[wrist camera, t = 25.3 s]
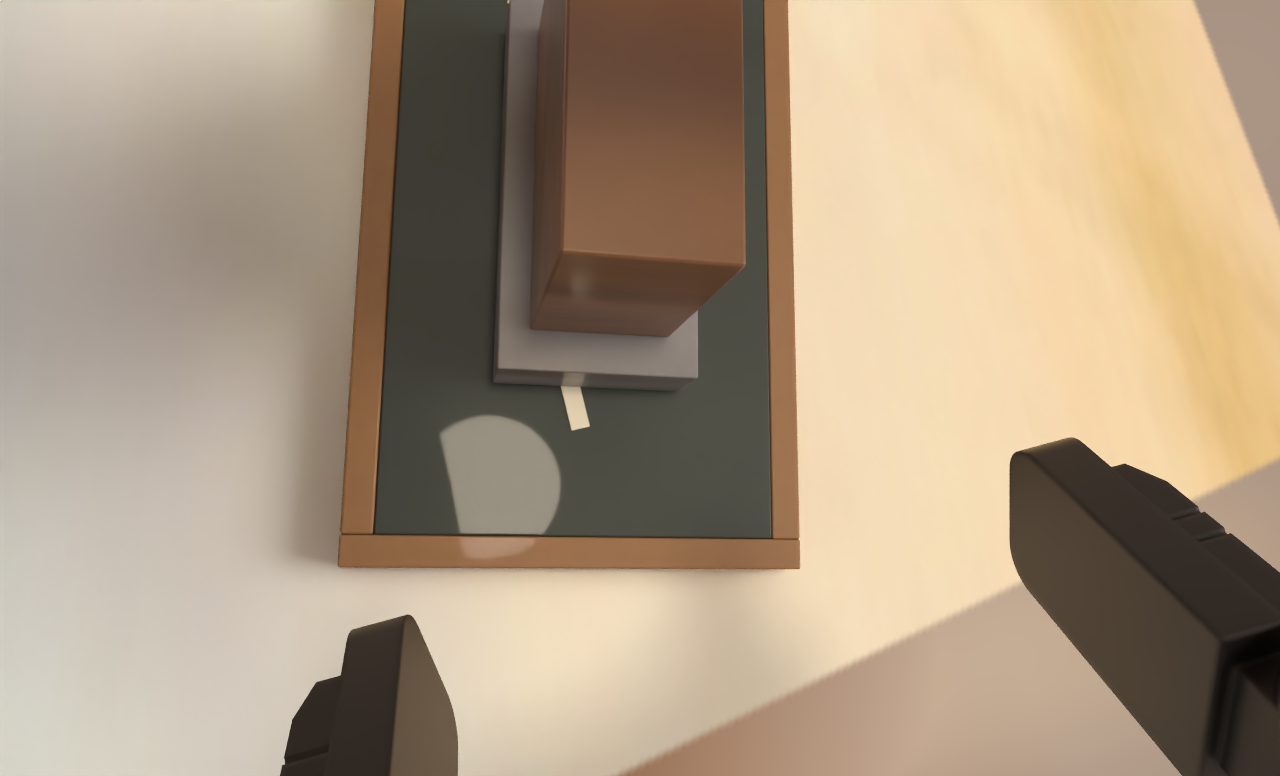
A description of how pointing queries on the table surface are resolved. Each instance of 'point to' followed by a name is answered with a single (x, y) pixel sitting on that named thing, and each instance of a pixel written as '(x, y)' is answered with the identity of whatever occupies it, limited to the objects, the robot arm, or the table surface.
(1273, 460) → the table surface
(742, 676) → the table surface
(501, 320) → the eraser
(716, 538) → the chalkboard
